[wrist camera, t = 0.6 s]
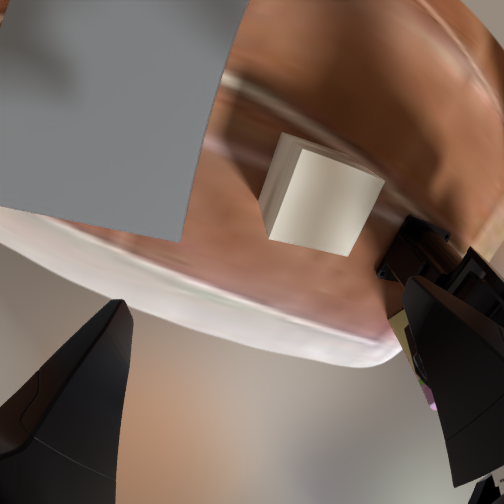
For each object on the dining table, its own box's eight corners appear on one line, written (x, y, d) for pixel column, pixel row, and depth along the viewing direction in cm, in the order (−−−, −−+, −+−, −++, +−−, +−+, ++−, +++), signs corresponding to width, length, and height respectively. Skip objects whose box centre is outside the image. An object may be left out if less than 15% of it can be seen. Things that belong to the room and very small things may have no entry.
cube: (348, 155, 17) (385, 180, 13) (322, 217, 20) (347, 256, 16) (281, 131, 16) (302, 148, 12) (257, 200, 18) (268, 238, 14)
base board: (252, -7, 10) (257, -24, 8) (185, 219, 19) (179, 242, 16) (36, -5, 7) (14, -11, 4) (8, 187, 15) (-13, 203, 12)
